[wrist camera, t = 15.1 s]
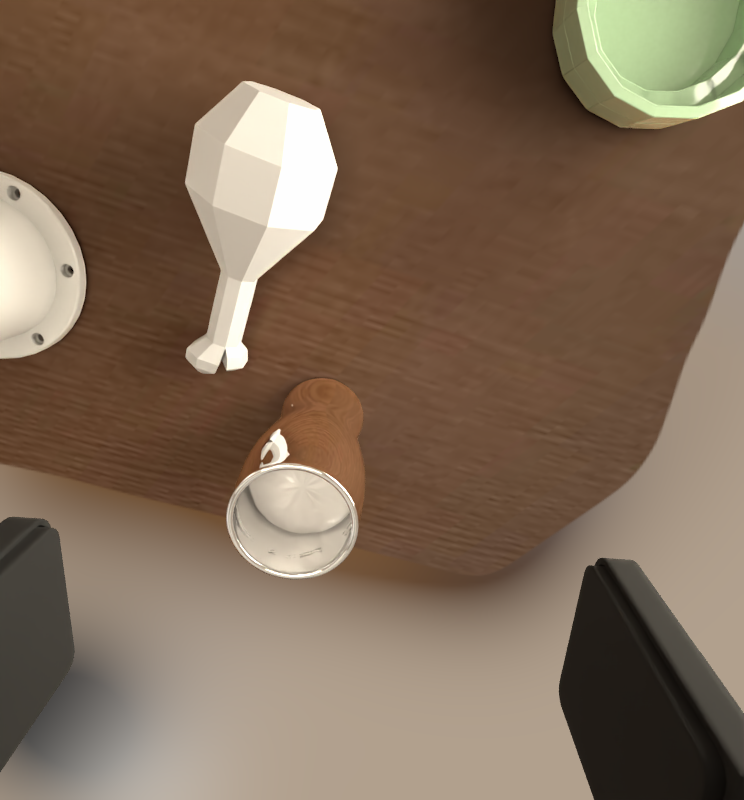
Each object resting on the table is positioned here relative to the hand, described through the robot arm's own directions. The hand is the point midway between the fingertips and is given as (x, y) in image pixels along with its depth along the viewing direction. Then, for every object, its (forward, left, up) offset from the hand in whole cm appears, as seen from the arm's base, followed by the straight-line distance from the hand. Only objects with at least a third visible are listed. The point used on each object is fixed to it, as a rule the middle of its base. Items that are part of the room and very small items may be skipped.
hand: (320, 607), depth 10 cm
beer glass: (-3, -8, -31) cm, 32 cm away
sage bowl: (+16, +18, -31) cm, 39 cm away
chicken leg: (-8, +4, -31) cm, 32 cm away
